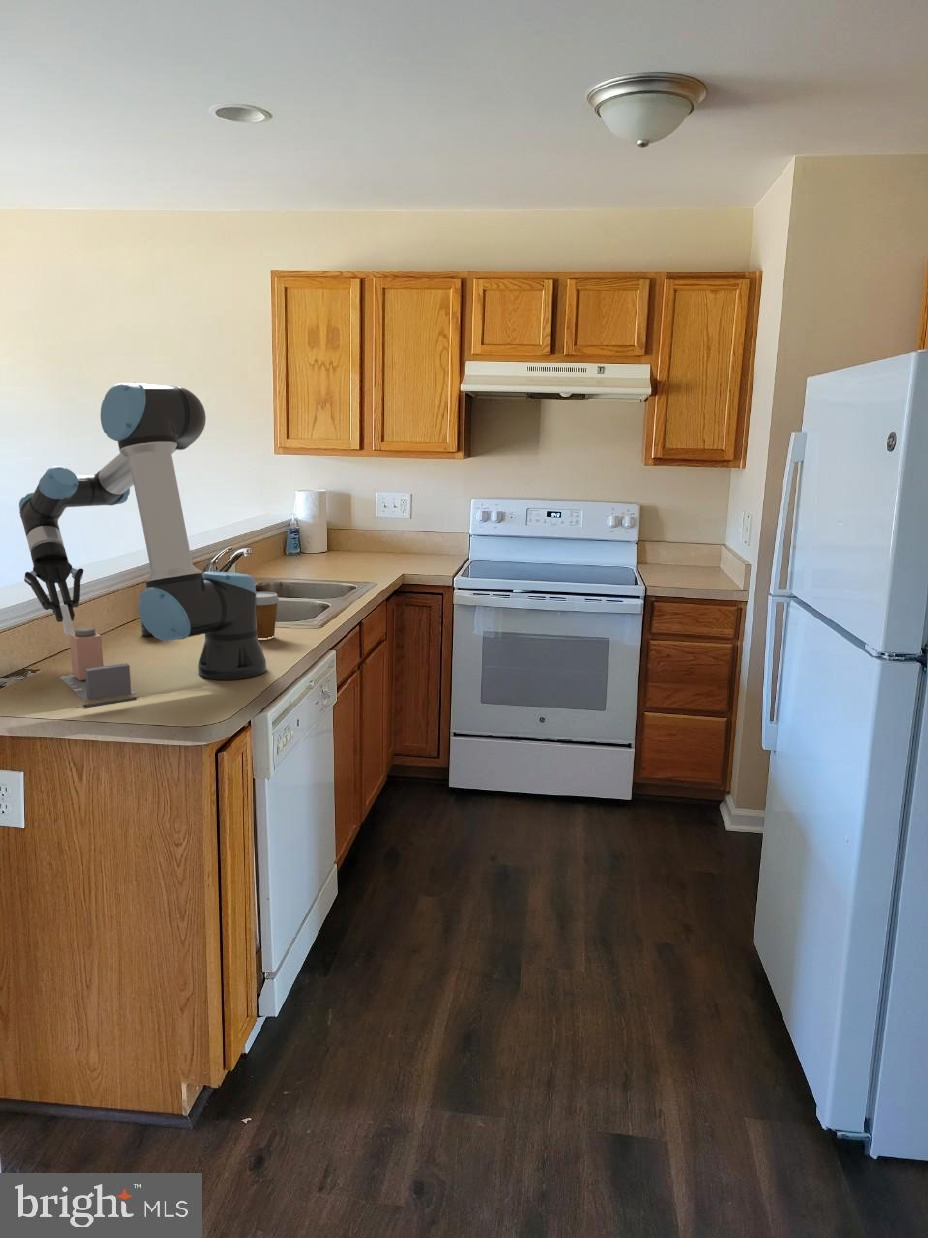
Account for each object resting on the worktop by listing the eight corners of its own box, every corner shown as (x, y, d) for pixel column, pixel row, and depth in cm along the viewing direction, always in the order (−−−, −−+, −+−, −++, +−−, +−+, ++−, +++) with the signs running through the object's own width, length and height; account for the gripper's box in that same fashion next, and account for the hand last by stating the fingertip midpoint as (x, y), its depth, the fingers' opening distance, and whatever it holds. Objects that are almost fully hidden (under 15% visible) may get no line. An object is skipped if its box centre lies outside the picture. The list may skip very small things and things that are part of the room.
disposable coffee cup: (287, 638, 233) (286, 594, 230) (257, 643, 226) (256, 599, 223) (266, 632, 239) (265, 590, 237) (236, 638, 232) (235, 594, 230)
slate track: (59, 683, 187) (57, 649, 185) (107, 676, 193) (105, 644, 191) (85, 708, 170) (82, 671, 168) (136, 700, 176) (134, 664, 174)
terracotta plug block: (72, 673, 187) (69, 629, 185) (96, 670, 190) (93, 626, 188) (79, 680, 182) (76, 634, 180) (104, 676, 185) (101, 631, 183)
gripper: (74, 558, 211) (97, 637, 201) (16, 561, 203) (36, 644, 193) (78, 538, 206) (101, 619, 196) (18, 541, 198) (39, 625, 188)
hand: (69, 631), depth 195 cm, fingers closed
